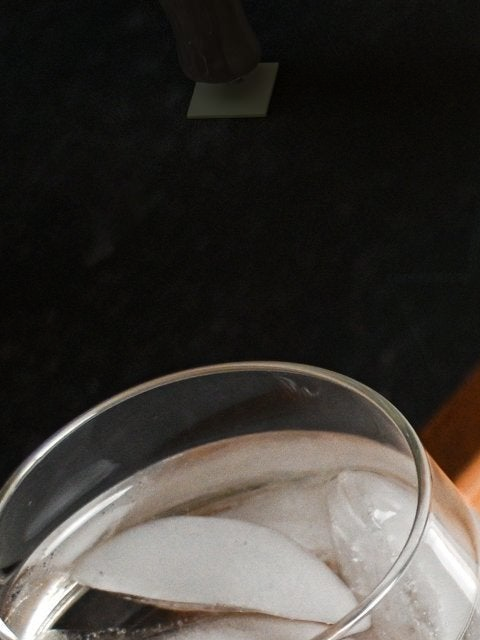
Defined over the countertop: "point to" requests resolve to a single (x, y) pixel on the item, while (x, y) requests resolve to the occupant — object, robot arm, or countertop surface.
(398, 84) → the countertop surface
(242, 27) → the beer glass
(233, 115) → the tile
